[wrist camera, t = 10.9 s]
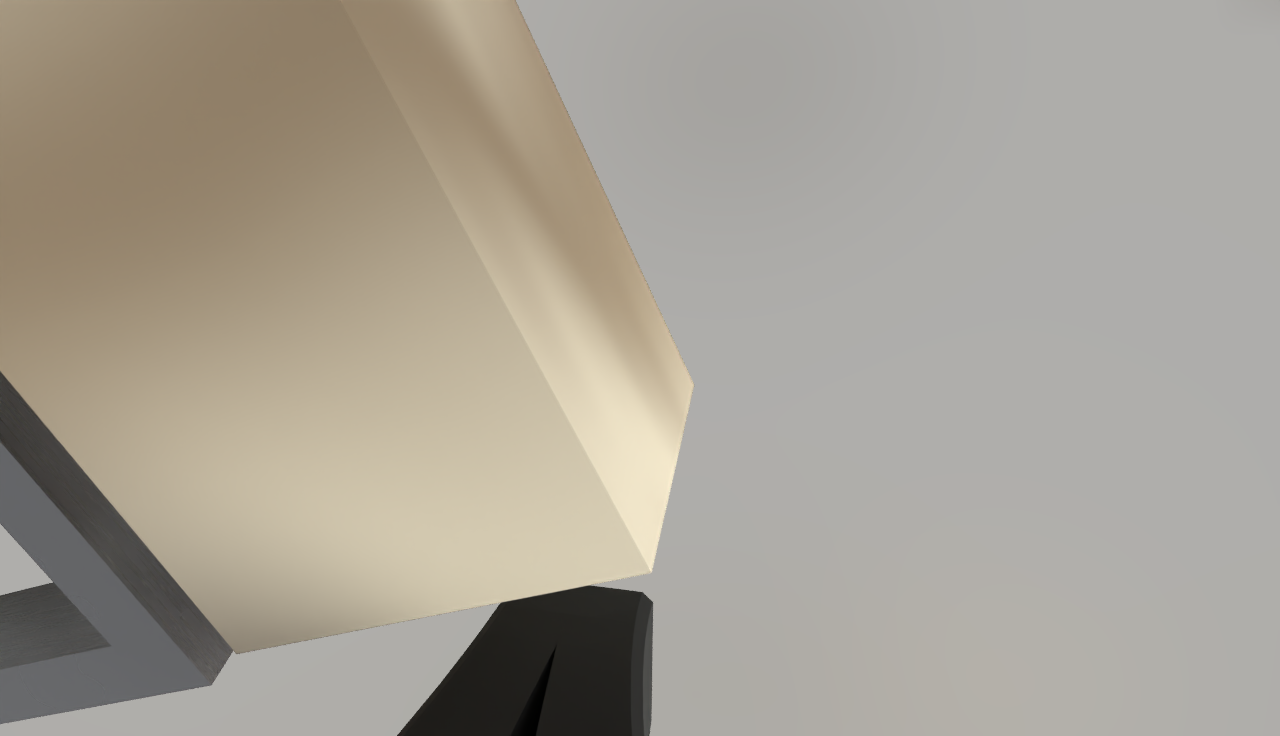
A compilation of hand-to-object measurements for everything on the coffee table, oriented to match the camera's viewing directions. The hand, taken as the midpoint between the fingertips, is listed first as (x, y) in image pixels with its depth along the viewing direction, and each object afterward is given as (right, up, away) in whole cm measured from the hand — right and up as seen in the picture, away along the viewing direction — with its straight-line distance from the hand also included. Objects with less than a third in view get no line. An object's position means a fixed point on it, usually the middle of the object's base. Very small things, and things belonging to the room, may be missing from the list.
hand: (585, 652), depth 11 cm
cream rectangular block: (-2, +5, -2) cm, 6 cm away
